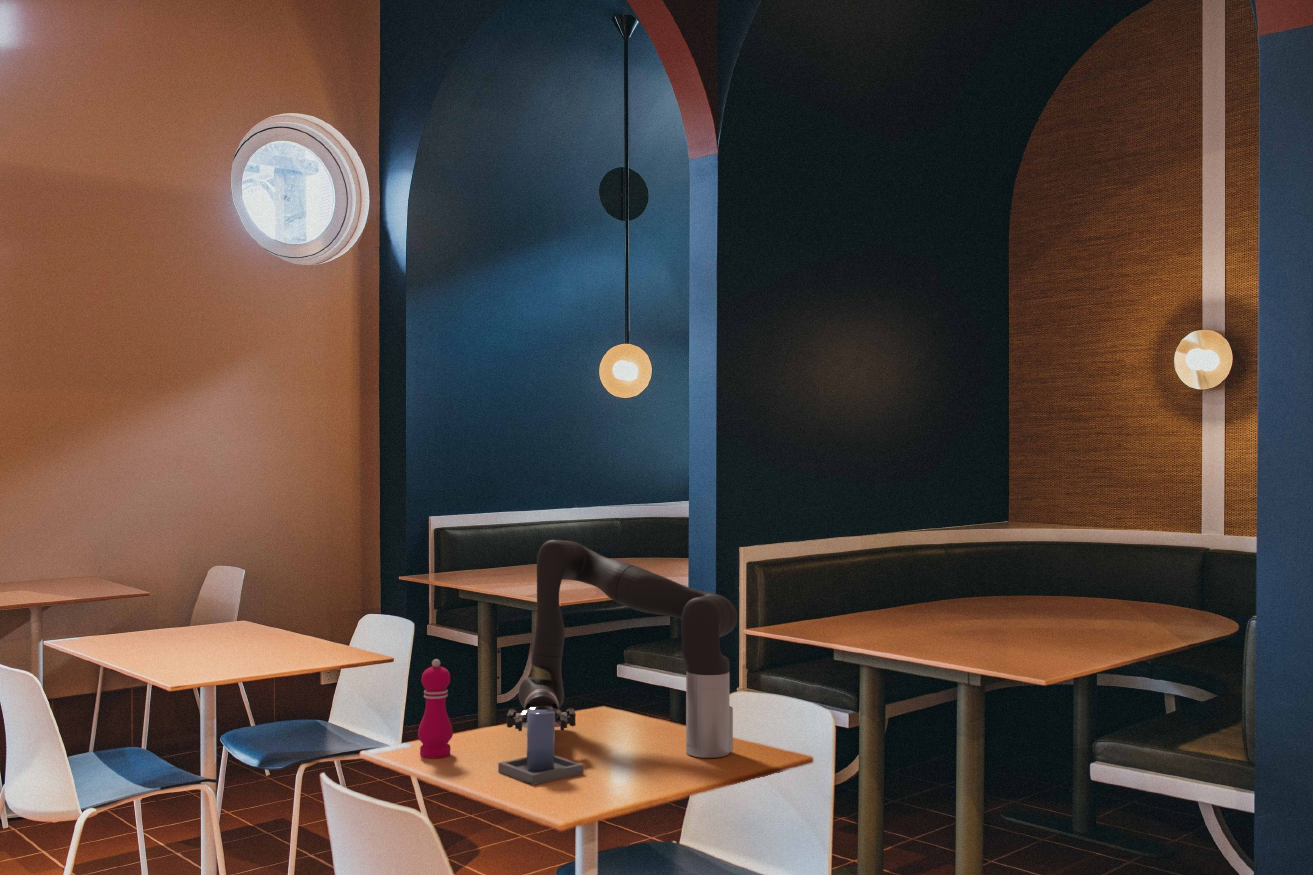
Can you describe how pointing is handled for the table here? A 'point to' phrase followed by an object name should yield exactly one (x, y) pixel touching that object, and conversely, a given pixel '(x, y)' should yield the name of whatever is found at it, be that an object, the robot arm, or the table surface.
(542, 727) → the blue-grey cylinder
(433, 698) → the pepper mill
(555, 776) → the tray
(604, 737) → the table surface
